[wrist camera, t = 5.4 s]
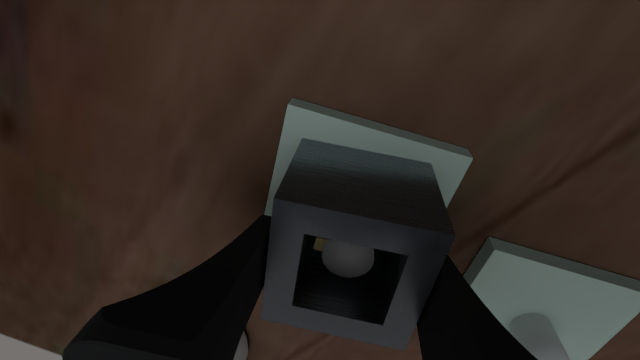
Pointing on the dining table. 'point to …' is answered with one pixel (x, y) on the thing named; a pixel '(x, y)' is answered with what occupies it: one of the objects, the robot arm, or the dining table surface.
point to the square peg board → (552, 299)
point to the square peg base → (370, 137)
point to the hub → (360, 229)
